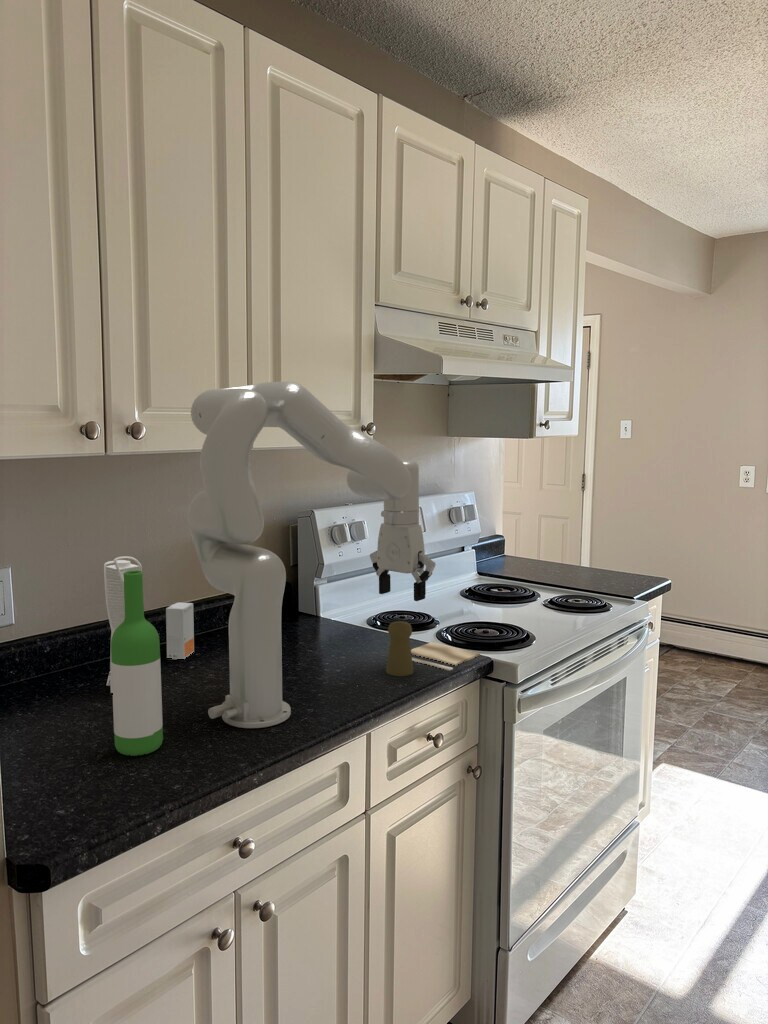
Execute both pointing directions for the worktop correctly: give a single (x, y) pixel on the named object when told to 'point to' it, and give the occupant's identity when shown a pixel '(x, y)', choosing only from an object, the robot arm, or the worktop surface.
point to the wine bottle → (136, 676)
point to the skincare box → (180, 630)
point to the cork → (399, 649)
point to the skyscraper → (116, 592)
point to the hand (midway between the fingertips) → (401, 596)
